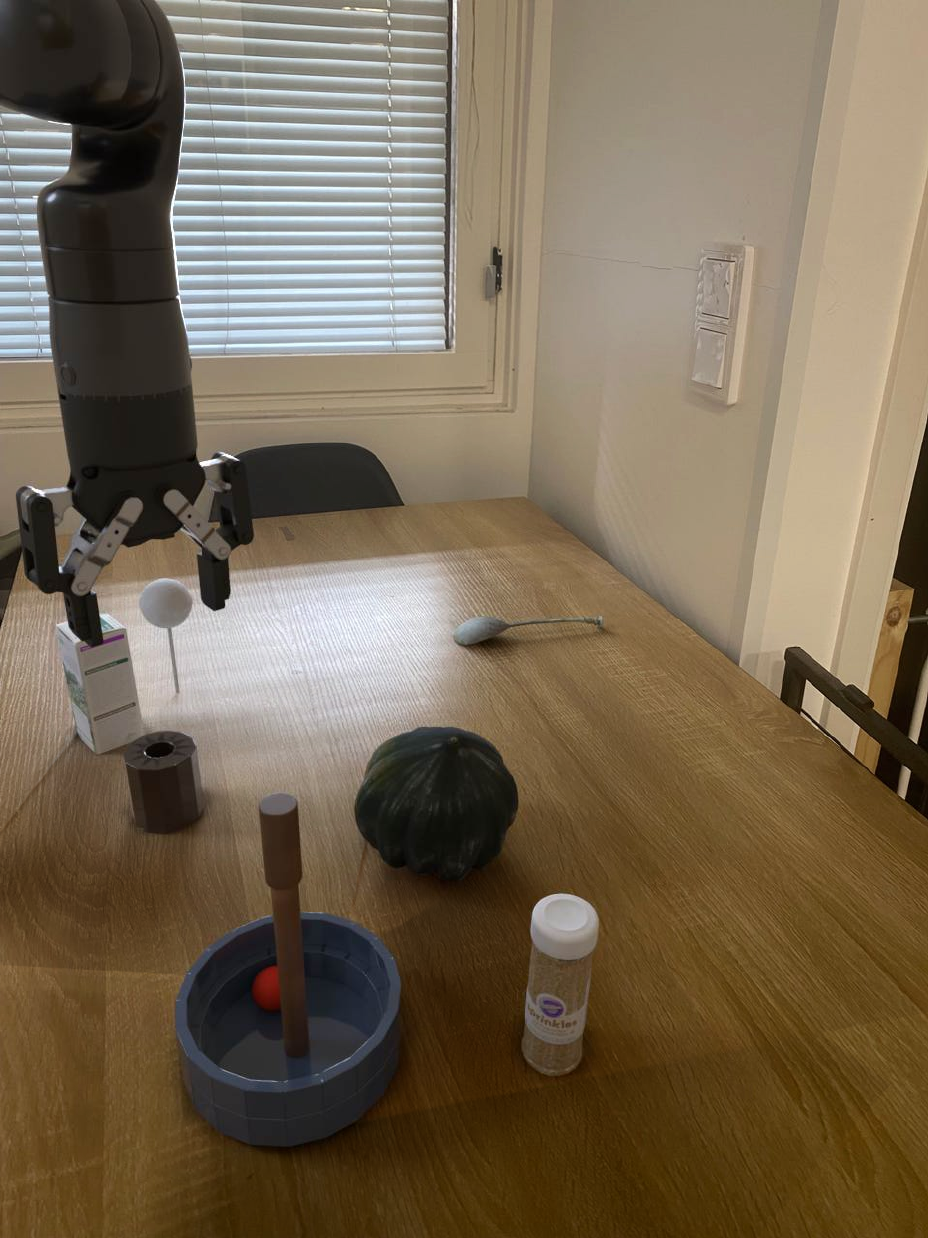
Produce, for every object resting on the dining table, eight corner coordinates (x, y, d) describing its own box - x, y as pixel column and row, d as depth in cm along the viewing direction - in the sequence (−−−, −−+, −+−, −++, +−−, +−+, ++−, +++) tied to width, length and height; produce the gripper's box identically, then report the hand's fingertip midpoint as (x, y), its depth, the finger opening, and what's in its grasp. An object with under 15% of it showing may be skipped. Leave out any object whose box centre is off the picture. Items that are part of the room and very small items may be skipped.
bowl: (152, 1146, 60) (141, 1084, 57) (219, 963, 74) (212, 907, 72) (388, 1159, 60) (387, 1097, 57) (410, 972, 74) (410, 916, 71)
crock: (124, 836, 88) (112, 768, 84) (148, 794, 94) (138, 729, 90) (191, 839, 88) (182, 771, 84) (211, 797, 94) (204, 732, 90)
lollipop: (213, 686, 114) (201, 576, 107) (181, 708, 109) (166, 594, 102) (174, 675, 116) (159, 566, 109) (141, 696, 111) (124, 584, 105)
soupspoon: (448, 633, 130) (458, 656, 125) (448, 612, 129) (458, 635, 123) (593, 616, 135) (609, 638, 129) (595, 596, 133) (611, 617, 127)
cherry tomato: (248, 994, 70) (247, 964, 69) (288, 982, 72) (288, 951, 71) (259, 1026, 68) (258, 995, 67) (300, 1012, 69) (300, 981, 68)
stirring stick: (276, 1060, 65) (254, 814, 56) (284, 1032, 68) (264, 791, 58) (309, 1063, 65) (292, 816, 56) (316, 1034, 67) (301, 793, 58)
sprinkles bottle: (520, 1076, 65) (531, 936, 60) (522, 1023, 70) (532, 888, 64) (584, 1082, 65) (601, 942, 59) (582, 1029, 69) (598, 893, 63)
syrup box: (147, 740, 103) (130, 625, 96) (95, 760, 99) (74, 642, 93) (125, 720, 106) (107, 608, 100) (74, 738, 103) (52, 623, 96)
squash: (379, 737, 94) (361, 693, 81) (523, 755, 93) (529, 713, 80) (356, 877, 89) (332, 856, 75) (507, 897, 88) (511, 880, 74)
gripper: (204, 355, 60) (223, 579, 67) (-26, 378, 51) (24, 633, 59) (264, 375, 55) (277, 614, 62) (22, 404, 47) (69, 679, 54)
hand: (155, 623), depth 61 cm, fingers open, 8 cm apart
